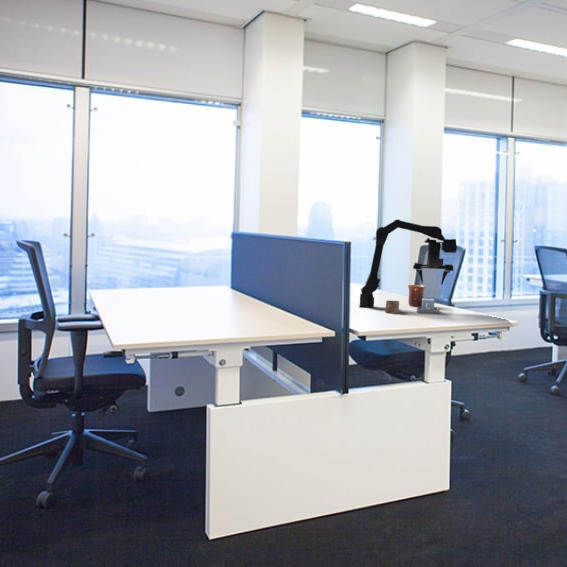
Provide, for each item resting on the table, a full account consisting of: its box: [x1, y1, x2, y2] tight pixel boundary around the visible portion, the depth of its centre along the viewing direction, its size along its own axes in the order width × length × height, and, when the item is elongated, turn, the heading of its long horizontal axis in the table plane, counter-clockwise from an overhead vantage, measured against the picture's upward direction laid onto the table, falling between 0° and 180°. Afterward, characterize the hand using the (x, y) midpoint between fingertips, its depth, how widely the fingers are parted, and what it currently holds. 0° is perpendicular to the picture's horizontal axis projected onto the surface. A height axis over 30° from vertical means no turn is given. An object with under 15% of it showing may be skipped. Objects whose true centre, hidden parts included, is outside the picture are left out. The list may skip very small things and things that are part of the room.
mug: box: [407, 284, 426, 308], centre depth 300 cm, size 12×9×10 cm
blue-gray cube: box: [421, 297, 436, 311], centre depth 283 cm, size 6×6×6 cm
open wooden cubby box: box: [385, 299, 400, 314], centre depth 279 cm, size 6×6×5 cm
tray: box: [416, 306, 440, 315], centre depth 283 cm, size 10×10×2 cm
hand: (431, 284), depth 288 cm, fingers open, 9 cm apart
